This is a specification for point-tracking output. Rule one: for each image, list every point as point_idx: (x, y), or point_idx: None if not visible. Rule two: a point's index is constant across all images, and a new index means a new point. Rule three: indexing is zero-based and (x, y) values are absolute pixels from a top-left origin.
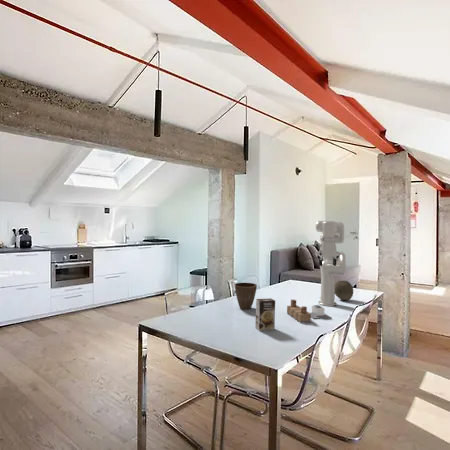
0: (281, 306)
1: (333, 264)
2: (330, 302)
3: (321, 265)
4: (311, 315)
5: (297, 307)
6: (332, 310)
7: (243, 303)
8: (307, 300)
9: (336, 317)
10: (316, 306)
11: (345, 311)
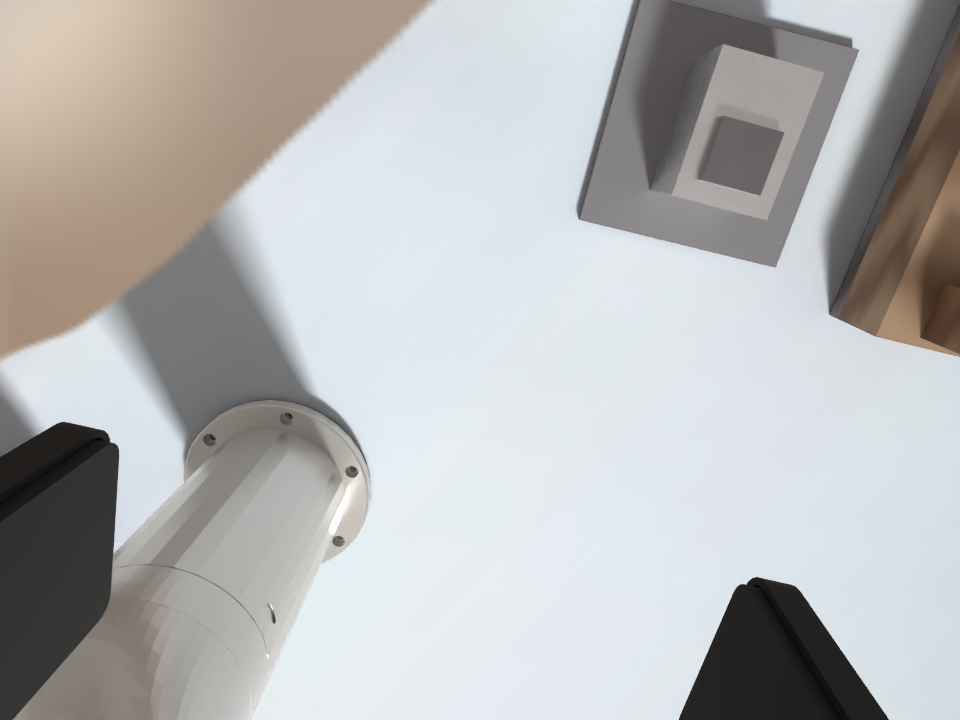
0: (785, 566)
1: (90, 573)
2: (282, 438)
3: (797, 590)
4: (795, 149)
5: (955, 253)
6: (397, 267)
7: None
8: (385, 653)
9: (557, 8)
10: (783, 130)
11: (285, 181)
